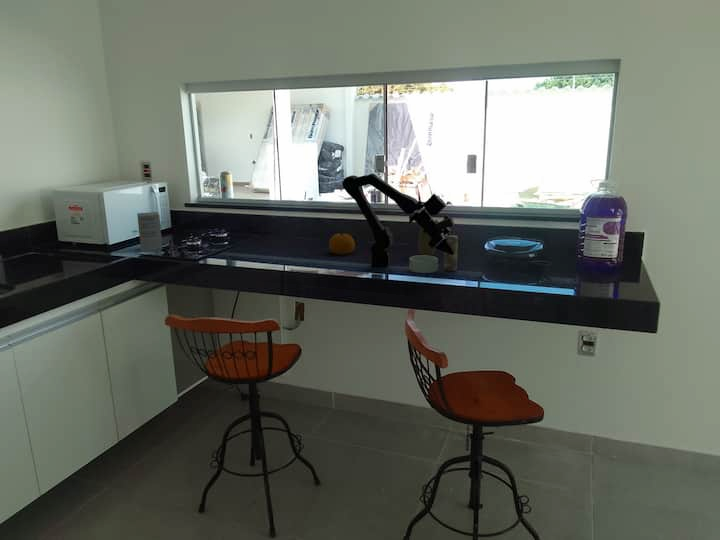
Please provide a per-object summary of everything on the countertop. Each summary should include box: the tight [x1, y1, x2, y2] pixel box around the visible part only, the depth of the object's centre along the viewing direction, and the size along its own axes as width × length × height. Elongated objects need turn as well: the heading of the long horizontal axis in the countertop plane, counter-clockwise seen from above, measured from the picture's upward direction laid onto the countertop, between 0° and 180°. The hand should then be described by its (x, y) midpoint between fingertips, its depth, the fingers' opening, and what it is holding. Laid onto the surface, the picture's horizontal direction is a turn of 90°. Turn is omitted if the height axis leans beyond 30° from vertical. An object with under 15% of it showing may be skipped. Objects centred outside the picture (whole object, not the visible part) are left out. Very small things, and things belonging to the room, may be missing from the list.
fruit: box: [328, 231, 356, 256], centre depth 248 cm, size 12×12×10 cm
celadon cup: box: [408, 254, 439, 274], centre depth 219 cm, size 11×11×4 cm
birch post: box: [443, 234, 459, 272], centre depth 217 cm, size 5×5×13 cm
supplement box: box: [136, 211, 164, 252], centre depth 259 cm, size 10×9×17 cm
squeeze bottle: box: [417, 227, 437, 256], centre depth 242 cm, size 8×8×18 cm
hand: (454, 252), depth 216 cm, fingers closed on birch post, 5 cm apart
